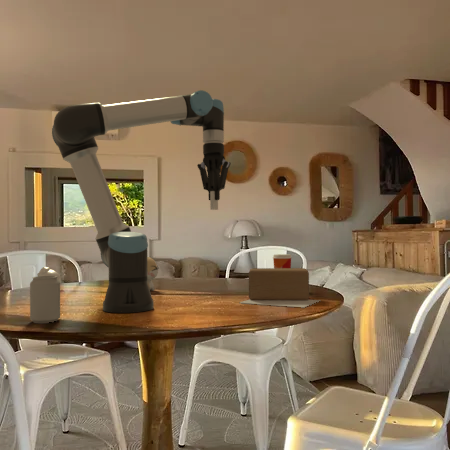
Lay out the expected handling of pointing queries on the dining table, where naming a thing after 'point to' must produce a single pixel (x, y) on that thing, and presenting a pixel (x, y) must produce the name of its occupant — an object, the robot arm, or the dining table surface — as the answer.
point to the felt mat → (282, 302)
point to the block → (278, 284)
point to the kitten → (151, 272)
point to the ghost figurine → (48, 273)
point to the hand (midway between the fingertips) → (214, 209)
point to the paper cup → (282, 261)
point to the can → (44, 299)
